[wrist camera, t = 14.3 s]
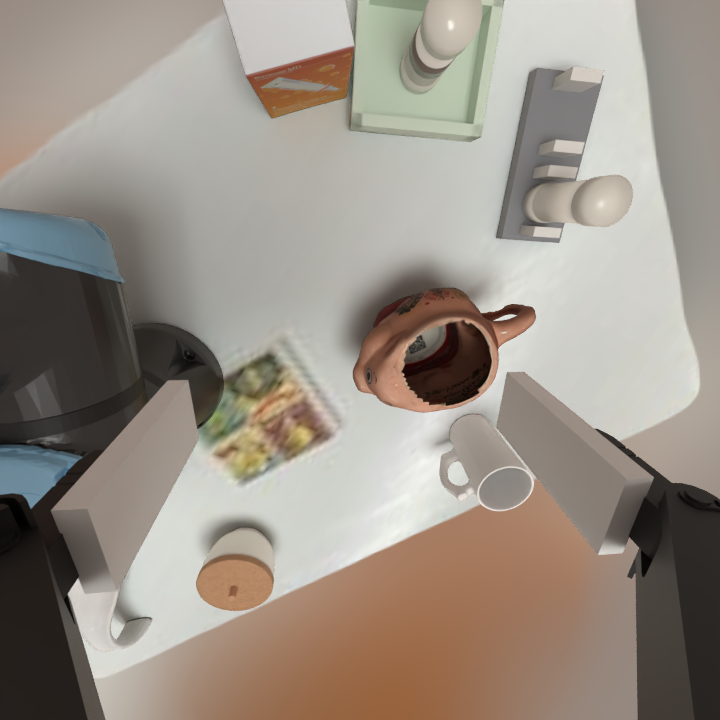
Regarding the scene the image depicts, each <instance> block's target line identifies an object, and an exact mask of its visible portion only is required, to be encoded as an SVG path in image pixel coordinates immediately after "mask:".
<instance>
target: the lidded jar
mask: <svg viewBox="0 0 720 720" xmlns="http://www.w3.org/2000/svg"><path fill="white" fill-rule="evenodd" d="M274 571H275V559H274V553H273V549H272V547H271V545H270V543H269V541H268V540H267V539H266V538H265V537H264V535H263V534H262V533H261V532H260V531H258V530H256V529H253V528H248V527H243V528H238V529H235V530H234V531H232V532H230V533H228V534H226V535H224V536H223V537H222V538H220V539H219V540H218V541H217V542H216V543H215V544H214V546H213V547H212V548H211V550H210V552H209V553H208V555H207V557H206V559H205V561H204V564H203V566H202V569H201V570H200V572H199V575H198V578H197V581H196V587H197V590H198V593H199V595H200V596H201V597H202V598H203V600H204V601H206V602H207V603H209V604H210V605H212V606H214V607H217V608H220V609H223V610H230V611H241V610H247V609H251V608H254V607H256V606H258V605H260V604H262V603H263V602H264V601H265V600H266V599H267V598H268V597H269V596H270V594H271V592H272V589H273V583H274Z"/></svg>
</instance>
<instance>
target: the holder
mask: <svg viewBox="0 0 720 720" xmlns="http://www.w3.org/2000/svg"><path fill="white" fill-rule="evenodd" d="M603 72H604V70H598V69H590V68H581V67H572V68H570V69H569V70H567V71H560V70H551V69H543V68H536V69H535V70H534V71H532V72H531V73H530V74H529V79H528V84H527V89H526V94H525V99H524V104H523V109H522V114H521V118H520V123H519V128H518V133H517V138H516V143H515V148H514V153H513V158H512V163H511V168H510V173H509V178H508V183H507V188H506V193H505V198H504V202H503V207H502V212H501V217H500V222H499V227H498V232H497V237H496V238H500V239H512V240H526V241H541V242H555V243H559V242H560V238H561V234H562V230H563V227H564V223H576V224H581V225H584V226H595V227H607V226H611V225H613V224H615V223H617V222H618V221H619V220H621V219H622V218H623V217H624V215H625V214H626V213H627V211H628V210H629V208H630V205H631V202H632V197H633V190H632V186H631V184H630V182H629V181H628V180H627V179H626V178H625V177H623V176H620V175H609V176H601V177H594V178H591V179H589V180H582V181H576V178H577V174H578V170H579V167H580V163H581V159H582V155H583V152H584V148H585V144H586V140H587V137H588V133H589V129H590V125H591V122H592V118H593V114H594V110H595V107H596V103H597V99H598V95H599V92H600V88H601V84H602V80H603V77H604V76H603Z"/></svg>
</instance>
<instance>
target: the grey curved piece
mask: <svg viewBox="0 0 720 720" xmlns="http://www.w3.org/2000/svg"><path fill="white" fill-rule="evenodd" d="M119 591H120V586H119V588H118V590H117V591H116V592H102V593H89V594H85V593H84V591H83V588H82V586H81V584H80V581H79V579H77V580H76V582H75V584H74V585H73V587H72V588H71V590H70V591H69V593H68V595H69V598H70V600H71V603H72V606H73V609H74V613H75V616H76V620H77V623H78V627H79V630H80V634H81V635H82V636H83V638H84V639H85V640H86V641H87V642H88V644H89V645H90V646H91V647H93V648H94V649H96V650H98V651H101V652H108V651H112V650H114V649H124V648H128V647H130V646H131V645H133V644H134V643H136V642H137V641H138V640H139V639H140V638H141V637H142V636H143V635H144V633H145V632H146V631H147V629H148V627H149V626H150V624H151V622H152V620H151V619H150V618H142V619H137V620H132V621H129V622H127V623H126V624H125V626H124V628H123V630H122V632H121V634H120V635H119V637H118V638H117V640H116V639H114V638H113V636H112V634H111V621H112V617H113V613H114V610H115V606H116V603H117V599H118V595H119Z"/></svg>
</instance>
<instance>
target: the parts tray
mask: <svg viewBox="0 0 720 720" xmlns="http://www.w3.org/2000/svg"><path fill="white" fill-rule="evenodd" d="M428 1H429V0H357V2H356V22H355V42H354V44H355V45H354V62H353V82H352V102H351V122H350V131H360V132H370V133H381V134H391V135H402V136H413V137H423V138H434V139H444V140H455V141H465V142H472V141H474V140H476V139H478V138H480V137H481V135H482V129H483V123H484V117H485V111H486V105H487V99H488V94H489V88H490V82H491V76H492V70H493V64H494V58H495V52H496V46H497V41H498V35H499V29H500V23H501V17H502V11H503V5H504V0H481V1H482V20H481V24H480V27H479V30H478V32H477V34H476V35H475V37H474V38H473V39H472V41H471V42H470V43H469V44H468V45H467V47H466V48H465V49H464V50H463V51H462V53H461V54H459V55H458V56H457V57H456V58H455V59H454V60H453V62H452V63H451V64H450V65H449V67H448V68H447V69H446V70H445V71H444V73H443V74H442V76H441V78H440V79H439V81H438V82H437V83H436V84H435V85H434V87H433V88H432V89H431V90H430V91H428V92H427V93H425V94H420V95H416V94H413V93H411V92H409V91H408V90H407V89H406V88H405V87H404V86H403V84H402V82H401V79H400V74H399V68H400V62H401V59H402V57H403V55H404V53H405V51H406V49H407V47H408V45H409V44H410V43H411V41H412V38H413V36H414V34H415V32H416V30H417V28H418V26H419V24H420V22H421V18H422V15H423V12H424V10H425V8H426V5H427V3H428Z"/></svg>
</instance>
